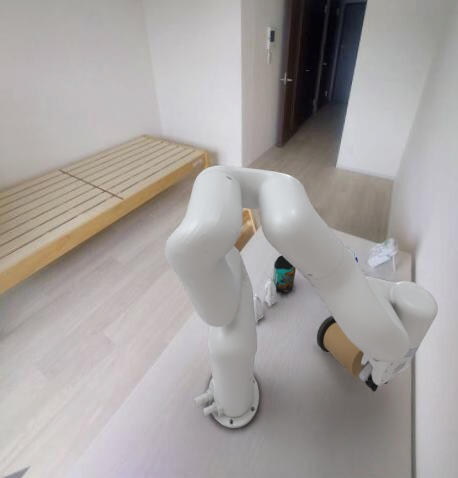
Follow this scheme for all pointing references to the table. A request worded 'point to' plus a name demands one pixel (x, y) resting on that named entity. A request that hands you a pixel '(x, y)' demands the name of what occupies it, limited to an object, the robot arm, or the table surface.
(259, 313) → the shaker set
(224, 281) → the robot arm
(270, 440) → the table surface
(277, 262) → the beverage can
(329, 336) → the towel holder
